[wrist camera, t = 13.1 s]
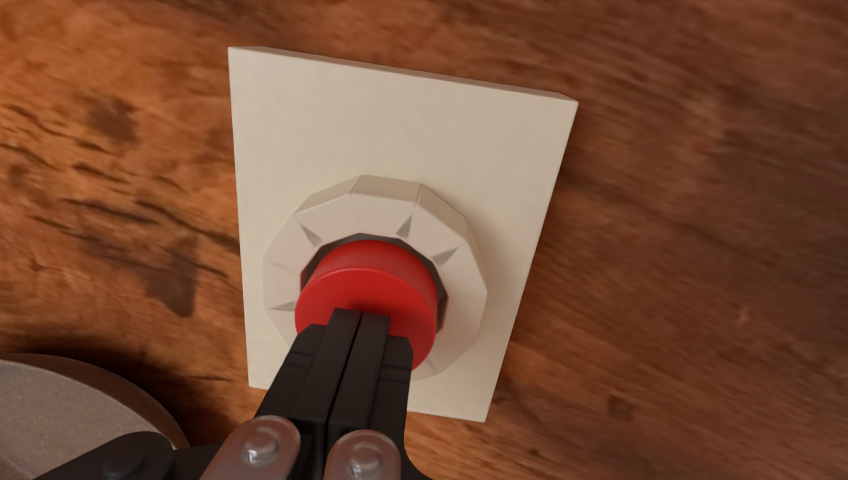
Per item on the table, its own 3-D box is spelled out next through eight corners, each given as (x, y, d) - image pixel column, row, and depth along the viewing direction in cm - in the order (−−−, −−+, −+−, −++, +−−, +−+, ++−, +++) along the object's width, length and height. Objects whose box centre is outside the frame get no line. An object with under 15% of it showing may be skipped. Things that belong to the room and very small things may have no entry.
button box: (259, 45, 13) (189, 46, 10) (561, 93, 13) (601, 111, 10) (269, 351, 19) (226, 423, 15) (481, 384, 19) (488, 463, 16)
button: (313, 228, 12) (293, 256, 11) (447, 249, 12) (446, 280, 11) (311, 335, 14) (293, 372, 12) (427, 352, 14) (424, 392, 12)
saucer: (280, 464, 23) (260, 516, 20) (116, 538, 27) (83, 588, 24) (50, 266, 18) (-14, 301, 15) (-105, 394, 22) (-175, 438, 20)
